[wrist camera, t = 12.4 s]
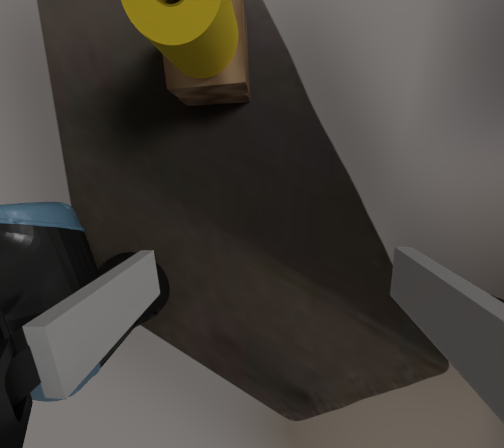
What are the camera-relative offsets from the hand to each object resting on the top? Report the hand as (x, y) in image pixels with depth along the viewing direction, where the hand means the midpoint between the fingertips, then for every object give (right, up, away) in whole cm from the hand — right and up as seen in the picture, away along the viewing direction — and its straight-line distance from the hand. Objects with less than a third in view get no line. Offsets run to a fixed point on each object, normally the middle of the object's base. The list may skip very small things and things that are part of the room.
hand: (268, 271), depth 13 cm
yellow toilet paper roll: (-8, +27, +18) cm, 33 cm away
